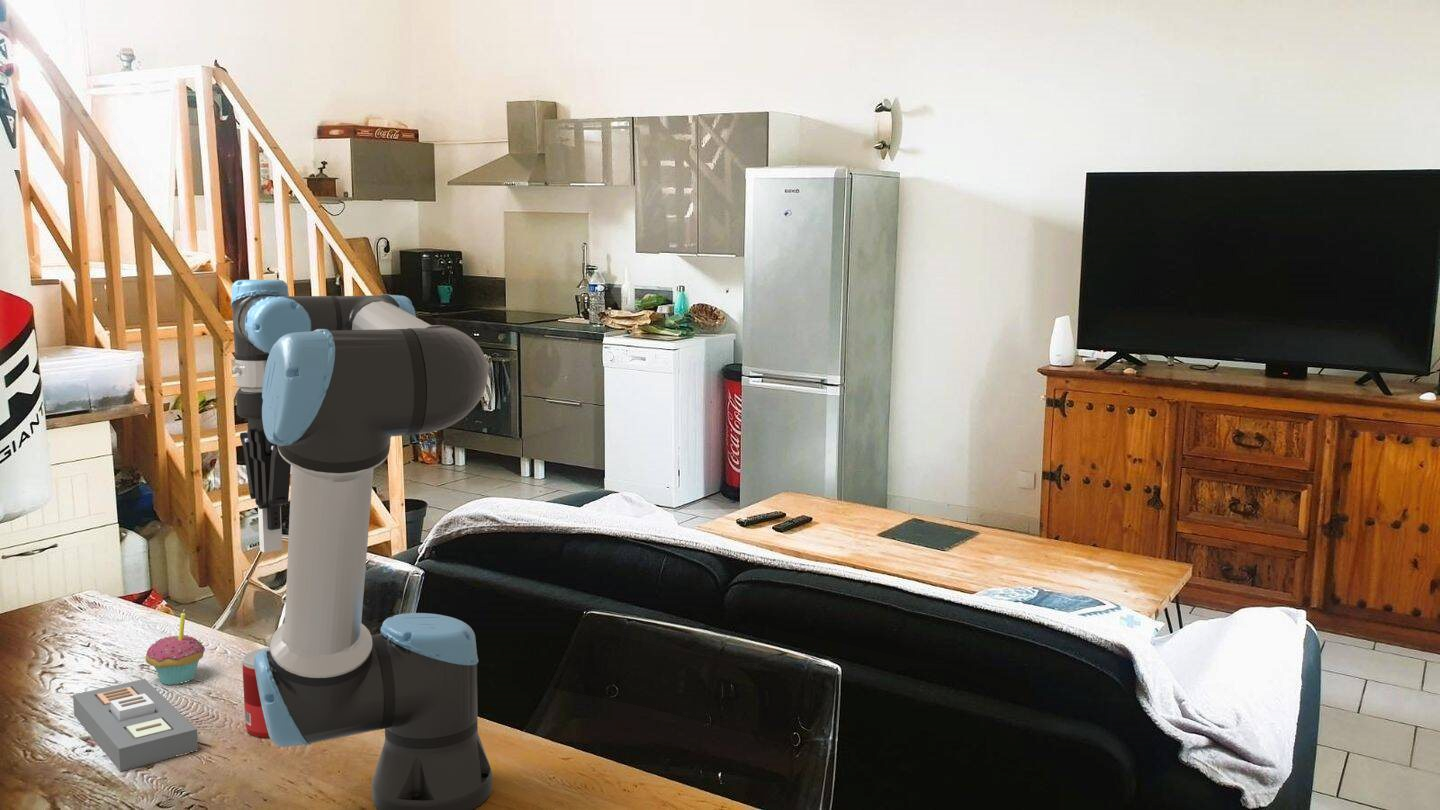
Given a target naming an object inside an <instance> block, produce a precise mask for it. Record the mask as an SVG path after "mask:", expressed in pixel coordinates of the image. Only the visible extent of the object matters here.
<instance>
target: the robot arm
mask: <svg viewBox="0 0 1440 810" xmlns="http://www.w3.org/2000/svg"><path fill="white" fill-rule="evenodd" d="M289 295H290V293H289V286H288V283H287V282H286V281H284V280H282V279H238V280H236V281H234V282H233V283H232V285H231V301H230V307H231V309H232V310H231V311H232V312H231V313H232V328H233V329H232V330H233V343H234V344H233V345H234V346H233V347H234V366H233V367H232V368H231V369H232V373H233V374H235V385H236V387H237V388H240V389H239V390H237V392H236V393H235V400H236V415H237V416H238V417H240V418H243V419H248V422H247V431H246V432H240V434H239V440H240V442H241V445H242V448H243V455H244V456H243V457H244V463H245V464H244V465H245V468H246V469H245V471H246V475H247V484H248V491H249V497H250V499H251V500H254V501H255V504H256V506H257V513H258V516H257V517H258V537H259V538H258V539H259V551H260V552H261V553H264V554H265V553H269V552H275V551H282V550H283V531H282V529H283V528H282V507H283V505H286V504H289V516H288V517H289V520H288V522H289V523H288V542H287V546H288V547H287V563H286V564H287V565H286V566H287V567H286V588H285V590H286V592H285V609H284V610H285V611H284V623H282V624H281V625H280V626H279V627H278V628H277V629H276V630H275V631H274V632H273V634H272V636H271V640H270V643H269V648H270V651H269V650H264V651H263V652H261V653H258V654H257V655H256V656H255V658H254V666H255V673H256V679H257V685H258V690H259V696H260V701H261V705H262V710H263V714H264V719H265V723H266V727H267V730H268V734H269V737H270V738H269V739H270V741H271V742H272V743H273V745H275V746H278V747H281V748H289V747H297V746H306V747H307V746H310V745H312V744H315V743H317V744H318V743H321V742H326V741H330V740H336V739H340V738H344V737H350V736H355V735H360V734H364V733H369V732H373V731H380V730H384V743H383V745H382V749H381V753H380V755H379V758H378V761H377V765H376V769H375V771H374V775H373V778H372V782H371V783H372V784H371V794H372V795H371V797H372V798H371V800H372V803H373V805H374V807H375V808H376V809H377V810H473V809H476V808H478V807H480V805H482V804H483V803H484V802H485V801H487V800H488V798H490V796H491V795H492V791H493V771H492V767H491V764H490V762H489V759H488V757H487V754H486V751H485V748H484V745H483V742H482V740H481V738H480V737H481V736H480V735H479V730H478V729H479V726H478V717H479V716H478V663H479V657H478V653H477V652H478V649H477V642H476V640H477V639H476V634H475V632H474V630H473V629H472V627H471V626H470V625H469V624H467V623H466V622H464V621H463V620H460V619H458V618H455V617H452V616H448V615H443V614H437V613H426V612H412V613H411V612H410V613H409V612H408V613H399V614H396V615H393V616H389V617H387V618H386V619H385V620H384V621H383V622H382V624H381V625H382V626H380V633H377V634H373V635H372V634H371V632H370V630H369V629H368V627H366V626H365V624H364V623H362V617H363V607H364V605H363V603H364V592H365V581H366V579H365V578H366V568H367V567H366V566H367V556H368V555H367V554H368V543H369V541H368V540H369V529H370V517H371V505H372V493H373V480H374V469H376V468H377V467H379V466H381V465H382V464H383V463H384V462H385V461H386V460H387V459H388V456H389V454H390V450H391V448H390V447H391V438H392V437H402V436H411V435H413V436H414V435H422V434H429V433H434V432H437V431H442V430H443V429H444V430H445V429H447V428H448V427H451V426H454V424H456V423H458V422H459V421H461V420H463V418H465V417H466V416H468V414H470V412H472V411H473V409H475V407H476V406H477V405H478V404H479V402H480V400H481V398H482V396H483V395H484V393H485V390H486V386H487V383H488V375H489V374H488V373H489V369H488V368H489V367H488V363H487V359H486V357H485V354H484V352H483V350H482V348H481V346H480V345H479V344H478V343H477V342H476V341H475V340H474V339H473V338H472V337H471V336H469V335H468V334H466V333H464V332H462V331H461V330H459V329H458V328H455V327H453V326H450V325H449V326H448V325H443V324H436V325H433V324H430V323H428V322H426V321H424V320H423V319H420V318H418V317H417V315H416V309H415V307H414V305H413V303H412V300H411V299H410V298H409V297H407V296H405V295H391V294H388V293H387V294H386V293H383V294H382V293H381V294H379V295H377V294H375V295H305V296H304V295H299V296H297V295H295V296H293V295H291V296H289ZM289 496H290V497H289ZM289 499H290V500H289Z"/></svg>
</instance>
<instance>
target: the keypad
mask: <svg viewBox="0 0 1440 810" xmlns="http://www.w3.org/2000/svg"><path fill="white" fill-rule="evenodd" d="M126 687H131V688H132V689H133V690H134V691H135V692H136V693H137V694H138V695H140V694H144V693H145V694H146V695H147V696H148V697H149V698H150V699H151V700H152V701H153V702H154V706H155V713H153V714H149V715H145V716H141V717H136V718H132V719H128V720H124V721H120V722H118V721H117V720H116V719H115V718H114V716H113V715H112V714H111V704H108V705H103V704H102V703H101V702H100V701H99V700H98V699H97V694H100V693H104V692H109V691H113V690H117V689H122V688H126ZM72 701H73V703H72V704H73V716H74V718H76V720H77V721H78V722H79V723H80V724H81V725H82V727H83V728H84V729H85V730H86V732H87V733H88V734H89V736H91V738H92V739H93V740H94V742H95V743H96V744H97V745H98V746H99V747H100V749H101V750H102V751H103V752H104V753H105V755H106V756H107V757H108V759H109V760H110V761H111V762H112V763H113V765H114V766H115V768H116V769H117V770H118V771H119V772H120V773H121V772H124V771H127V770H131V769H136V768H140V767H143V766H147V765H150V764H154V763H158V762H161V761H166V760H169V759H168V758H170V757H173V758H175V757H174V756H176V755H180V754H185V753H188V752H191V751H196V750H198V751H199V743H198V741H199V739H198V729H197V728H196V727H195V725H194V724H192V723H191V722H190V721H189V720H188V719H187V718H186V717H185V716H184V715H183V714H182V713H181V711H179V710H178V708H176V707H175V706H174V705H173V704H172V703H171V702H169V700H167V699H166V698H165V697H164V695H162V694H161V693H160V691H158V689H156V688H155V687H154V686H153V685H152V684H151V682H149V681H148V680H147V679H146V678H142V679H138V680H134V681H129V682H124V683H119V684H115V685H111V686H105V687H102V688H97V689H92V690H88V691H84V692H78V693H76V694H75V693H74V694H72ZM159 718H162V719H163V720H164V722H165V723H166V724H167V725H168V726H169V727H170V728H171V729H172V730H170V731H166V732H162V733H158V734H154V735H150V736H146V737H142V738H138V739H133V738H132V736H131V735H130V734H129V733H128V732H127V731H126V727H127V726H131V725H135V724H139V723H143V722H147V721H151V720H155V719H159ZM196 752H197V751H196ZM188 754H189V753H188ZM185 755H186V754H185ZM165 759H166V760H165ZM170 759H171V758H170Z"/></svg>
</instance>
